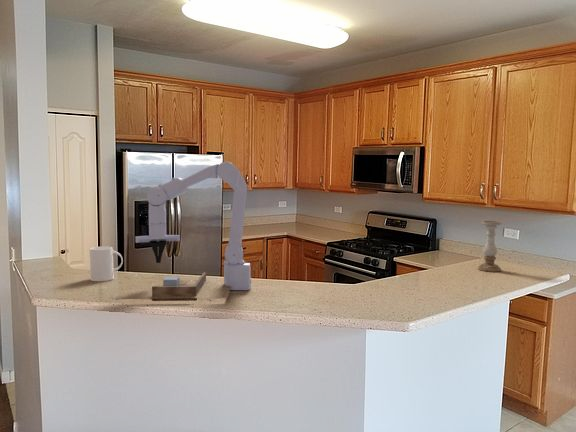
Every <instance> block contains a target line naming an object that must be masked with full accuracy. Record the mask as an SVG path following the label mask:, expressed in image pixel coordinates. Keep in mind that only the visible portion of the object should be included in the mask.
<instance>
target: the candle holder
mask: <svg viewBox="0 0 576 432" xmlns="http://www.w3.org/2000/svg"><path fill="white" fill-rule="evenodd" d="M481 225H485V228H486V229H487V231H486V233H485V235H486V237H487V238H486V243H485V245H484V247H483V250H482V252H483V255H484V256H483V259H484V262H483V263H481V264H480V265H479V266H477V269H478V270H479V271H483V272H490V273H496V272H501V270H502V268H501V267H500V266H499V265H498V264H495V261H496V260H497V257H496V255H497V253H498V249H497V246H496V243H495V236H496V235H497V234H496V232H495V231H496V229H497V227H498V226H502V222H501V221H497V220H482V221H481Z"/></svg>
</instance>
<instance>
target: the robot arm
mask: <svg viewBox="0 0 576 432" xmlns="http://www.w3.org/2000/svg"><path fill="white" fill-rule="evenodd" d="M218 178H219V179H221V180H223V182H225V183H227V184H228V186H230V187H231V189H232V190H233V198H232V206H231V208H232V209H231V218H230V227H229V228H230V229H229V237H228V244H227V245H226V247H225V250H224V251H225V252H224V259H225V260H224V261H223V285H224V286H227V287H229V289H228V290H229V291H249V290H251V284H252V277H251V263H250V262H246V261H245V260H244V259H243V258H244V248H243V245H242V243H243V233H244V232H243V231H244V223H245V212H246V203H247V193H248V184H247V181H246V180H245V179H244V177H243V176H242V173H241V172H240V170H239V169H238V167H237V166H236V165H234V164H233V163H232V162H230V161H223V162H221V163H219V164H218V163H216V164H214V165H210V166H207V167H205V168H203V169H202V170H199V171H198V172H196V173H195V172H194V173H193V174H191V175H190V176H187V177H185V178H181V177H171V178H170V180H169V181H168V182H165V183H163V184H162V183H160V184H158V187H153V188H151V189H150V190H149V191H148V192H147V195H146V199H147V202H148V235H139V236H136V235H135V243H136V244H137V243H138V244H139V243H149V244H150V247H151V249H152V251H153V255H154V256H155V263H156V264H160V263H161V262H162V256H163V254H164V253H163V252H164V250H165V248H166V247H167V242H181V239H180V238H181V235H180V234H167V209H166V201H171V200H173V199H175V198H177V197H179V196H182V195H183V194H185V193H187V191H188V188H189V187H192V186H194V185H196V184H198V183H201V182H203V181H205V180H207V179H218Z"/></svg>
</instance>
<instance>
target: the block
mask: <svg viewBox="0 0 576 432" xmlns="http://www.w3.org/2000/svg"><path fill="white" fill-rule="evenodd" d="M180 281H181V280H180V276H166V277H164V278H163V279H162V283H163V285H162V286H179V285H180Z"/></svg>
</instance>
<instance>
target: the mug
mask: <svg viewBox="0 0 576 432" xmlns="http://www.w3.org/2000/svg"><path fill="white" fill-rule="evenodd" d="M114 254H116V255H117V256H119V257H120V259H121V263H120V264H119V265H118V266H117V267H115V268H114ZM123 262H124V260H123V256H122V254H121V253H120V252H118V251H117V250H114V249H113V246H107V245H105V246H93V247H90V248H89V265H90V266H89V267H90V278H89V280H90V281H91V282H107V281H111V280H114V279H115V275H114V272H116V271H118V270H120V268H121V267H122V266H123Z"/></svg>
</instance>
